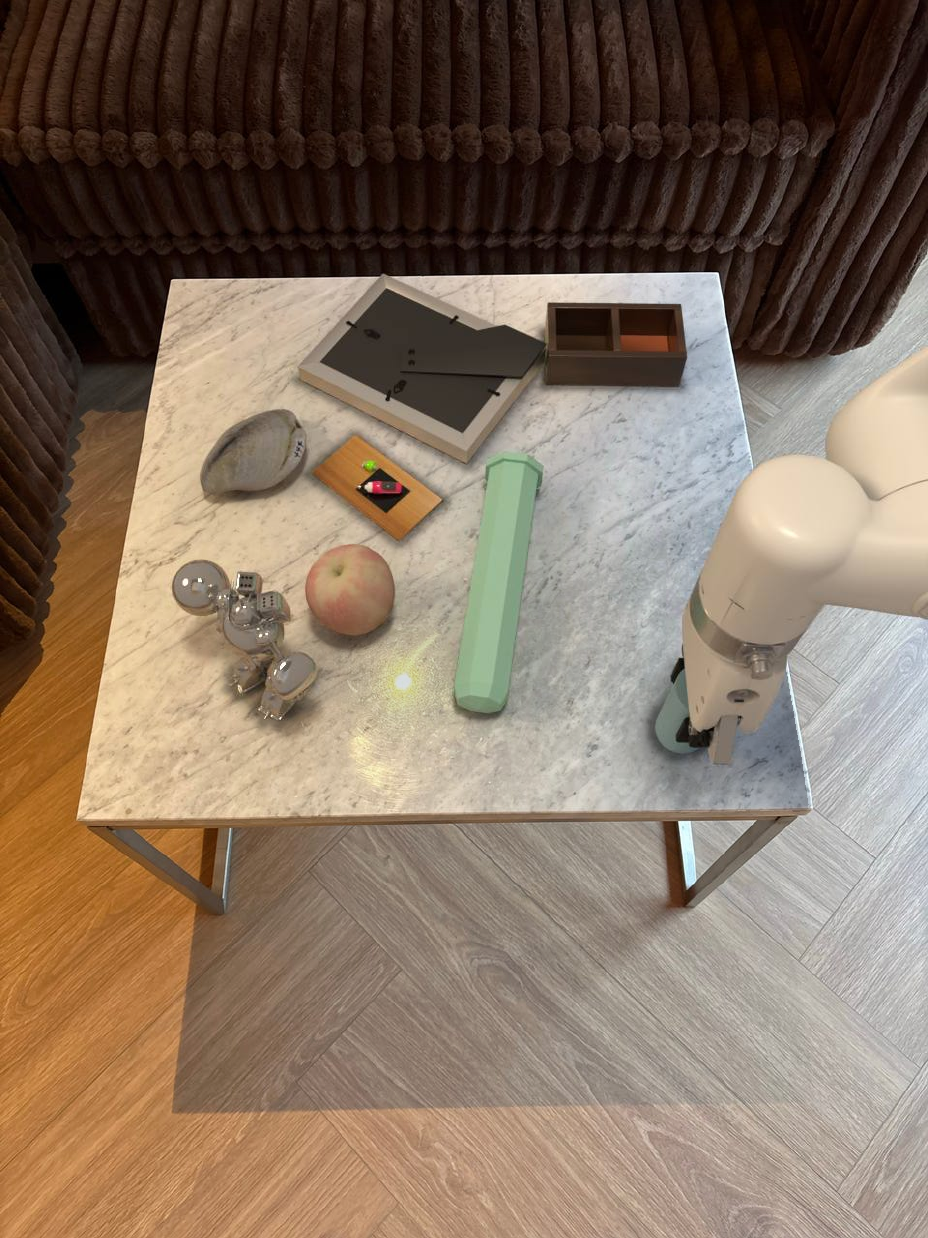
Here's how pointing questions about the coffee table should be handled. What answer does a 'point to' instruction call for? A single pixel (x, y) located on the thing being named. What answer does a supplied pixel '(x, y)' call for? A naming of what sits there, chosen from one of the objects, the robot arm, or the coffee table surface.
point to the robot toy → (248, 631)
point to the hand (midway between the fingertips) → (692, 708)
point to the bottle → (674, 717)
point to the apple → (350, 589)
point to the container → (497, 582)
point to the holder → (614, 344)
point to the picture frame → (424, 366)
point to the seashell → (254, 453)
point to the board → (377, 487)
